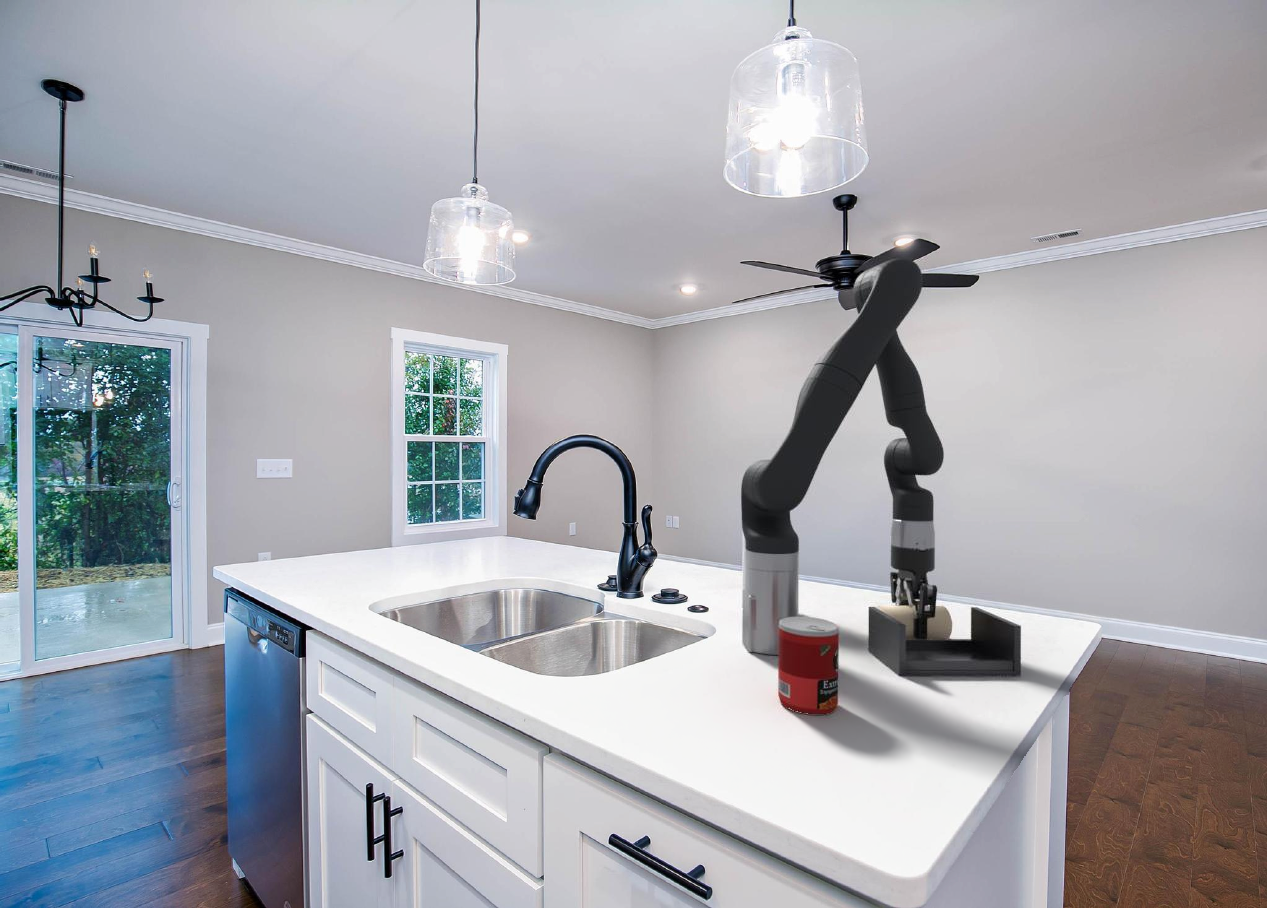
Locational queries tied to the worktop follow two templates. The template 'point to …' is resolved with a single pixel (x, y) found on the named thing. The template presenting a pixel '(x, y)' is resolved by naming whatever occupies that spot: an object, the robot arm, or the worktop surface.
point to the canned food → (808, 664)
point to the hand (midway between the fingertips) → (911, 633)
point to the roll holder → (948, 648)
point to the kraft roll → (935, 626)
